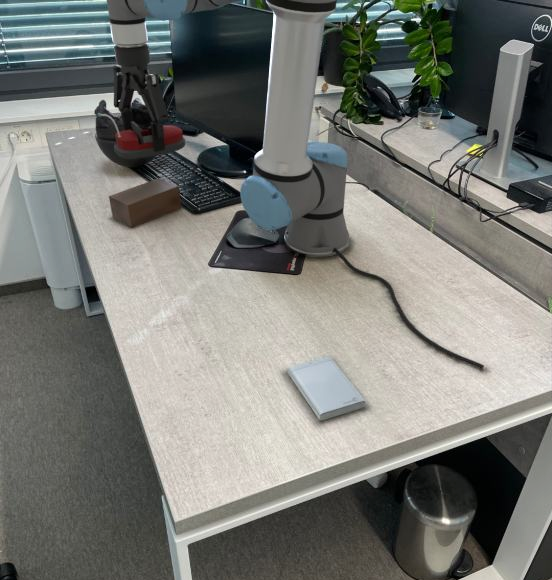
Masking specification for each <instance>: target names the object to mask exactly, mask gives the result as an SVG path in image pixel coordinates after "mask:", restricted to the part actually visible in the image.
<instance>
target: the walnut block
mask: <svg viewBox="0 0 552 580" xmlns="http://www.w3.org/2000/svg"><path fill="white" fill-rule="evenodd" d="M108 201H109V205H110V211H111V215H112V219H113V220H115V221H117V222H119V223H121V224H123V225H125V226H126V227H129V228H134V227H137V226H140V225H142V224H144V223H146V222H149V221H152V220H154V219H156V218H159V217H161V216H164V215H167V214H169V213H171V212H173V211H176V210H179V209H181V208H182V202H181V194H180V185H178V184H176V183H173V182H171V181H168V180H165V179H163V178H160V177H158V178H155V179H153V180H150V181H147V182H144V183H141V184H137V185H136V186H132V187H131V188H130V187H129V188H127V189H124V190H122V191H119V192H116V193H113V194H111V195H109V196H108Z"/></svg>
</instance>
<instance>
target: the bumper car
mask: <svg viewBox="0 0 552 580" xmlns="http://www.w3.org/2000/svg"><path fill="white" fill-rule="evenodd" d="M97 116H98V117H101V116H107V117H109V118H110V119H111V120H112V121H113V123H114V124H115V127H116V129H117V132H118V133H116V134H115V136H116V142H117V144H115V145H114V152H115V153H116V154H117V155H118V156H120V157H122V158H125V159H136V158H145V157H151V156H156V157H157V156H162V155H167V154H171V153H175V152H178V151H180V150H181V149H184V148H185V146H186V138H184V135H183V134H184V133H183V130H182V129H181V128H180V127H179V126H176V125H169V124H167V125H165V124H163V128H164V143H165V149H164V150H161V151H158V152H154V146H153V138H152V131H151V127H148V130H144V131H140V128H139V126H138V125H137V124H136V123H135V122H133V121H132V122H131V125H132V128H133V131H131V130H130V129H129V130H125V131H121V132H119V130H118V127H117V125H116V123H115V121H114V120H113V119H112V118H111V117H110V116H108V115H107V114H100V113H98V114H97Z"/></svg>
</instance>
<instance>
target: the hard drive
mask: <svg viewBox="0 0 552 580" xmlns="http://www.w3.org/2000/svg"><path fill="white" fill-rule="evenodd" d="M287 374H288V376H289V377H290V379H291V380H292V382H293V383H294V385H295V386H296V388H297V389H298V391H299V392H300V394H301V395H302V396H303V398H304V400H305V401H306V402H307V404H308V405H309V407H310V408H311V410H312V411H313V413H314V415H316V417H317V419H318V420H319V421H324V420H327V419H331V418H334V417H338V416H341V415H345V414H348V413H350V412H351V413H352V412H354V411H357V410H361V409H363V408H365V407H366V400H365V398H364V397H363V396H362V395H361V393H360V392H359V391H358V390H357V389H356V387H355V386H354V385H353V383H352V382H351V381H350V380H349V379H348V377H347V376H346V374H345V373H344V372H343V371H342V370H341V368H340V367H339V365H338V364H337V363H336V362H335V361H334V359H333V358H332V357H331V356H325V357H320V358H317V359H313V360H309V361H306V362H302V363H299V364H296V365H293V366H292V365H291V366H289V367H288V368H287Z"/></svg>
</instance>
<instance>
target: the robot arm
mask: <svg viewBox="0 0 552 580" xmlns="http://www.w3.org/2000/svg"><path fill="white" fill-rule="evenodd" d="M242 1H243V0H106V5H107V12H108V17H109V24H110V32H111V39H112V43H113V44H114V47H113V51H114V56H115V63H116V64H117V65H113V66H112V72H113V107H114V108H115V109H118V111H119V112H120V114H121V117H122V123H123V127H124V131H125V130H129V129H130V130H131V131H133V128H132V125H131V122H132V121H133V122H134V118H133V111H128V110H131V109H132V107H131V103H132V102H133V99H134V94H135V91H136V92H137V94H138V95H139V96H141V99H142V101H143V104H144V105H145V106H146V108H147V110H148V112H149V114H150V117H151V119H152V122H151V131H152V138H153V146H154V152H158V151H161V150H164V149H165V143H164V128H163V125H164V122H167V121H169V120H170V118H169V114H168V111H167V107H166V103H165V100H164V97H163V94H162V90H161V87H160V81H159V74H157V73H150V72H149V69H148V65H149V64H150V63H151V54H150V46H149V44H148V43H147V42H149V41H148V39H149V38H148V30H147V23H146V21H147V19H146V18H150V19H151V18H152V19H156V20H159V21H163V22H165V21H177V20H178V19H180V18H181V17H182V16H183V15H188V14H191V13H192V14H193V13H197V12H198V13H199V12H204V11H213V10H217V9H219V8H222V7H224V6H226V5H229V4H234V3H239V2H242ZM337 2H338V0H265V3H266V4H267V6H268V7H269V8H270V10H271V11H272V13H273V22H272V34H271V36H272V37H271V48H270V58H269V59H270V60H269V69H268V70H269V72H268V83H267V95H266V106H265V107H266V108H265V120H264V121H265V122H264V131H263V141H262V142H263V144H262V149H261V150H259V151H258V152H257V153H256V154H255V155H254V159H253V171H252V175H249V176H248V177H246V178H245V180H243V182H242V183H241V185H240V190H239V191H240V192H239V194H240V202H241V204H242V207H243V209H244V211H245V212H246V214H247V215H248V218H249V219H251V221H252V222H253V223H255V225H257V226H258V227H260V228H261V229H264V230H267V231H277V230H279V229H282V228H283V227H286V229H285V232H284V245H285V248H287V249H288V250H289V251H290V252H292V253H293V254H295V255H298V256H301V257H305V258H311V259H312V258H313V259H323V258H324V259H326V258H331V257H335V256H338V257H340V259H341V260H342V261H343V262H344V264H345V265H346V266H347V267H348V268H349V269H350V270H352V271H353V272H355V273H357V274H359V275H361V276H365V277H368V278H371V279H374V280H377V281H379V282H380V283H382V284H383V285H385V286H386V288H387V289H388V291H389V294H390V297H391V300H392V302H393V304H394V306H395V308H396V309H397V312H398V314H399V315H400V317H401V320H403V322H404V324H406V326H407V327H408V328H409V329H410V330H411V331H412V332H413V334H415V335H416V336H417V337H419V338H420V339H421V340H423V341H424V342H425V343H427V344H428V345H430V346H431V347H433V348H434V349H436V350H438V351H440V352H441V353H444V354H446V355H448V356H449V357H452V358H454V359H456V360H459V361H462V362H464V363H466V364H468V365H471V366H473V367H475V368H478V369H480V370H483V369H484V367H485V365H484V364H482V363H480V362H477V361H476V360H475V361H474V360H472V359H471V358H468V357H465V356H462V355H460V354H458V353H456V352H453V351H451V350H449V349H447V348H445V347H444V346H442V345H439V344H438V343H436V342H435V341H434V340H431V339H430V338H428V337H427V336H426V335H424V334H423V333H422V332H421V331H420V330H418V329H417V328H416V326H414V324H412V322H410V320H409V319H408V317H407V316H406V314H405V312H404V310H403V309H402V307H401V305H400V303H399V301H398V300H397V298H396V294H395V291H394V289H393V287H392V285H391V284H390V282H388V281H387V280H386V279H384V278H383V277H381V276H379V275H376V274H373V273H370V272H366V271H364V270H360V269H358V268H357V267H355V266H353V264H351V262H350V261H349V260H348V259H347V258H346V257H345V255H344V254H343V253H344V252H346V250H348V248H349V245H350V233H349V230H348V227H347V222H346V218H345V215H344V208H345V198H346V197H345V196H346V184H347V174H348V173H347V172H348V171H347V170H348V168H349V167H348V153H347V151H346V150H345V149H344V148H343V147H341V146H339V145H337V144H333V143H330V142H324V141H313V140H312V141H310V140H309V138H310V133H311V132H310V131H311V125H312V124H311V123H312V117H313V110H314V103H315V97H316V96H315V94H316V88H317V81H318V73H319V65H320V59H321V52H322V45H323V44H322V43H323V37H324V29H325V23H326V22H325V21H326V20H327V19H328V18H329V17H330V16H331V15H332V14H334V13H335V12H336V7H337Z"/></svg>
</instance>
